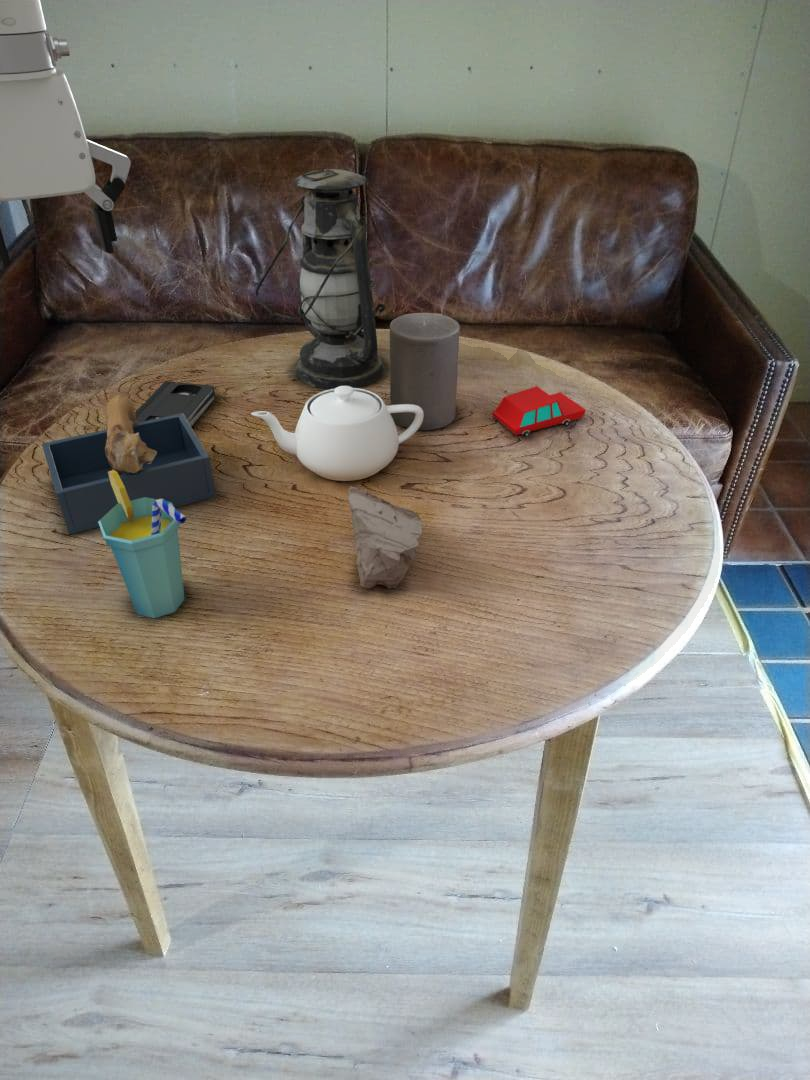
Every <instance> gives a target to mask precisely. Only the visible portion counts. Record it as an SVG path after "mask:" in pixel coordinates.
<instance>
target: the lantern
mask: <svg viewBox="0 0 810 1080" xmlns="http://www.w3.org/2000/svg"><path fill="white" fill-rule="evenodd" d="M367 180H368V179H367V178H366V176H363V175H361V174H359V173H356V172H353V171H349V170H345V169H334V168H333V169H330V168H329V169H328V168H326V169H318V170H312V171H309V172H304V173H302V174H300V175H299V176H297V177H295V178H294V179H293V180H292V182H293V184H294V185H295V186H297V187H299V188H302V189H305V190H307V191H308V192H307V193H306V194H305V196H300V198H299V203H300V205H299V206H300V207H299V209H298V210H297V212H296V214H295V215H294V217H293V219H292V221H291V223H290V224H289V227H288V229H287V232H286V236H285V239H284V242H283V243H282V245H281V246H280V248H279V250H278V251H277V253H276V255H275V256H274V258H273V260H272V261H271V263H270V264H269V266H268V268H267V270H265V273H264V274H263V276H262V277H261V279H260V281H259V282H258V284H257V287H256V288H255V298H256V300H257V303H258V304H259V305H260V306H261V307H263V308H264V309H265V310H266V311H268V312H269V316H270V317H272V318H273V317H275V316H277V317H279V318H283V319H286V320H289V321H299V320H301V319H303V321H304V324H305V327H306V329H307V330H308V332H309V333H310V335H312V336H313V339H312V340H309V341H308V342H307V343H305V344H303V345H302V347H301V348H300V351H299V357H300V358H299V359H298V361H297V364H296V367H295V370H294V372H295V376H296V378H297V379H298V380H299V381H300V382H301V383H303V384H305V385H307V386H310V387H312V388H316V389H323V390H330V389H335V388H337V387H339V386H350V387H352V388H358V389H360V388H362V387H366V386H368V385H372V384H373V383H375V382H377V381H378V380H379V379H380V378H382V377H383V375H384V373H385V370H386V369H385V365H384V363H383V361H382V358H381V356H380V355H379V348H378V338H377V326H376V317H375V316H376V314H378V312H379V314H381V313H383V312H384V311H385V310H386V305H385V304H383V303H378V304H377V305H376V307H374V298H373V297H374V296H373V287H375V284H376V282H375V281H374V280H372V278H371V270H370V259H369V250H368V249H369V248H368V240H367V236H366V234H367V231H368V230H367V229H368V226H367V224H366V221H367V220H366V217H365V216H361V213H360V203H359V196H358V195H357V193H356V192H355V191H353V190H354V189H357V188H360V187H361V186H363V185H365V183H367ZM301 212H302V218H301V229H300V232H301V239H302V240H301V242H302V243H301V247H302V248H301V249H302V250H301V252H302V253H301V254H302V257H301V258H300V260H299V266H300V267H301V269H300V275H299V279H297V281H296V282H295V287H296V291H297V292H298V293H299V294H300V299H301V302H300V306H298V316H295V317H291V316H288V315H285V314H282V313H278V312H275V313H273V310H272V309H270V308H269V307H268V306H267V305H265V304H264V303H263V302H262V300H261V299H260V297H259V291H260V288H261V286H262V284H263V282H264V281H265V279H266V277H267V276H268V275H269V273H270V272H271V269H272V268H273V266H274V264H275V263H276V262H277V260H278V258H279V257H280V255H281V254H282V252H283V250H284V248H285V247H286V245H287V243H288V241H289V237H290V234H291V230H292V228H293V225H294V224H295V222H296V220H297V219H298V217H299V215H300V214H301ZM298 284H299V285H298ZM299 288H300V289H299Z"/></svg>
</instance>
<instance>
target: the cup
mask: <svg viewBox="0 0 810 1080" xmlns="http://www.w3.org/2000/svg"><path fill="white" fill-rule="evenodd" d="M108 474H109V479H110V483H111V486H112V488H113V491H114V493H115V496H116V499H117V501H118V503H119V504H116V505H115V506H114V507H113V508H112V509H111V510H110V511H109V512H108V513H107V514H106V515H105V516H104V517H103V518H102V519H100V520H99V521H98V523H99V526H100V527H99V529H100V531H101V533H102V537H103V539H104V541H105V544H106V546H108V547H110V549H111V551H112V554H113V556H114V559H115V561H116V564H117V566H118V569H119V572H120V575H121V577H122V579H123V582H124V585H125V587H126V590H127V592H128V594H129V597H130V599H131V602H132V604H133V607H134V609H135V612H136V614H137V615H139V616H144V617H147V618H151V619H157V618H160V617H163V616H167V615H170V614H173V613H175V612H176V611H177V610H178V609H179V607H180V606H181V605H182V604H183V602H184V601H185V600H186V599H185V589H184V579H183V571H182V570H183V569H182V560H181V559H182V558H181V551H180V539H179V528H180V526H181V525H183V524H184V523H185V522H186V521H187V517H186V515H184V514H183V513H182V512H181V511H179V510H178V509H177V508H176V507H175V508H174V506H173V504H172V503H171V502H167V501H166V500H164V499H158V500H157V499H152V498H147V497H144V498H140V499H136V500H132V501H130V500H129V497H128V494H127V492H126V489H125V487H124V485H123V483H122V481H121V479H120V477H119V475H118V473H117V472H116V471H115V470H112V471H109V472H108Z"/></svg>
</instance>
